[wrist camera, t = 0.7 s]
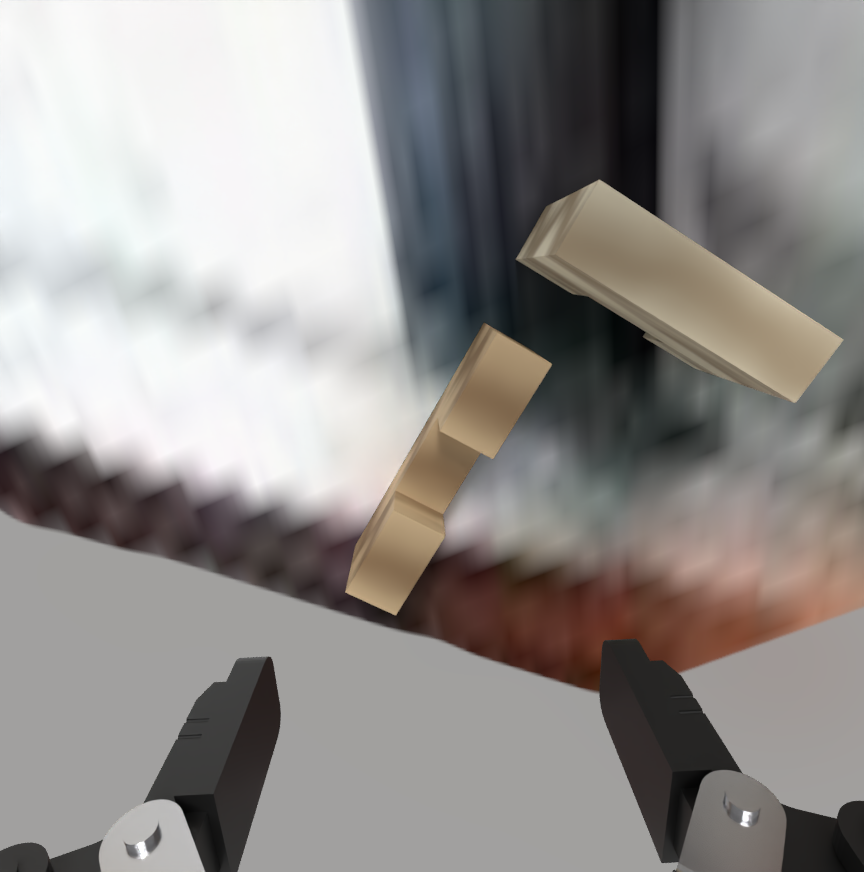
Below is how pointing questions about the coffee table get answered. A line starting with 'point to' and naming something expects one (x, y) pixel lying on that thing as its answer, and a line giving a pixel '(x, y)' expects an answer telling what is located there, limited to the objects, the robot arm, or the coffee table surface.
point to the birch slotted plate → (676, 292)
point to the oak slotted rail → (443, 465)
